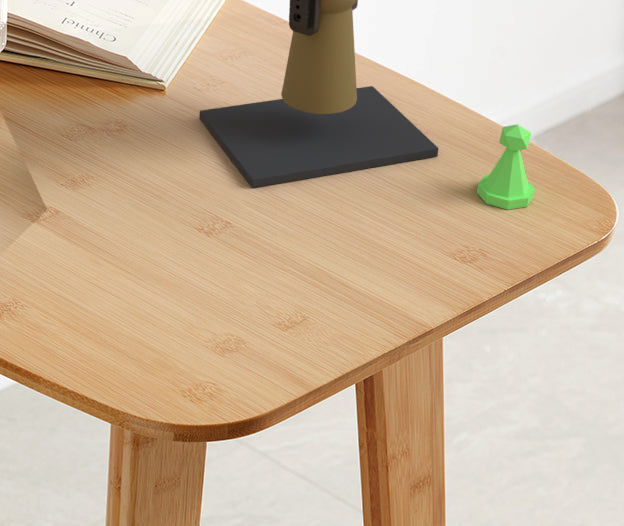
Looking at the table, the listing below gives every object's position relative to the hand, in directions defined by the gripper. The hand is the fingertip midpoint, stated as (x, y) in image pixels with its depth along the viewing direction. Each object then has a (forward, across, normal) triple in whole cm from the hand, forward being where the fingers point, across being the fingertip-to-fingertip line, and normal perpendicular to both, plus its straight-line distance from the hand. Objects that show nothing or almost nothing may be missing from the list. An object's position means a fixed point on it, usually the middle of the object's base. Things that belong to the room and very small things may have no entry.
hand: (323, 19), depth 86 cm
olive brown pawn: (+7, 0, 0) cm, 7 cm away
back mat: (+10, 0, 0) cm, 10 cm away
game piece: (+10, -1, +16) cm, 19 cm away
